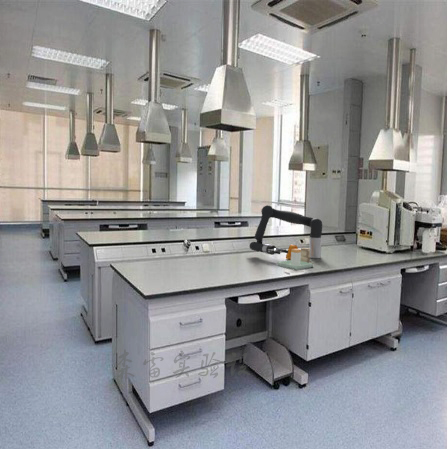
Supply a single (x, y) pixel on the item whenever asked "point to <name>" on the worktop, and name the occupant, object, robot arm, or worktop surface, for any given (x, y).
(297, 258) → the labelled box
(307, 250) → the plain box
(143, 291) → the worktop surface
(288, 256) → the bracket
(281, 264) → the tray
